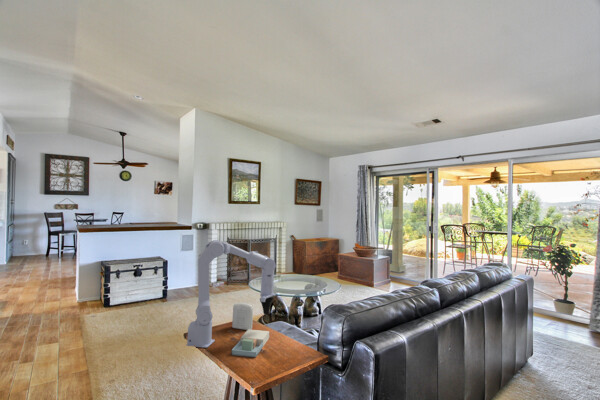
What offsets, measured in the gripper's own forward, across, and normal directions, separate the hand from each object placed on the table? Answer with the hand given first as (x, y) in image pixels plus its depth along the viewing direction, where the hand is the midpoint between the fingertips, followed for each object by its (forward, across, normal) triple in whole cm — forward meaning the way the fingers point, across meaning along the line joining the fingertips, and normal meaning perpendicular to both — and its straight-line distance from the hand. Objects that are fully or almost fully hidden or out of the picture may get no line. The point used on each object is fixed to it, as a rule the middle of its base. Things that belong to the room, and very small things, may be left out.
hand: (266, 313), depth 145 cm
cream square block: (+10, -6, +3) cm, 12 cm away
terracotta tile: (+10, -13, +3) cm, 17 cm away
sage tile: (+8, -15, +3) cm, 17 cm away
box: (+10, -16, +3) cm, 20 cm away
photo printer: (+11, +8, +14) cm, 19 cm away
